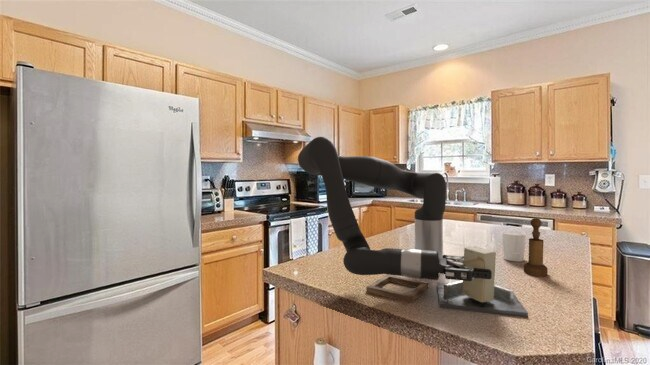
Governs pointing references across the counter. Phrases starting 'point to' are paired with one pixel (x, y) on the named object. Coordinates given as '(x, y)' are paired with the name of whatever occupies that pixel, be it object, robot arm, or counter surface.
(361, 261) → the robot arm
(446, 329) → the counter surface
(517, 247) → the white cup
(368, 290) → the square wooden frame
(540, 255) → the mortar and pestle
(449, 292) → the grey corner stand
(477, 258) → the skincare box
